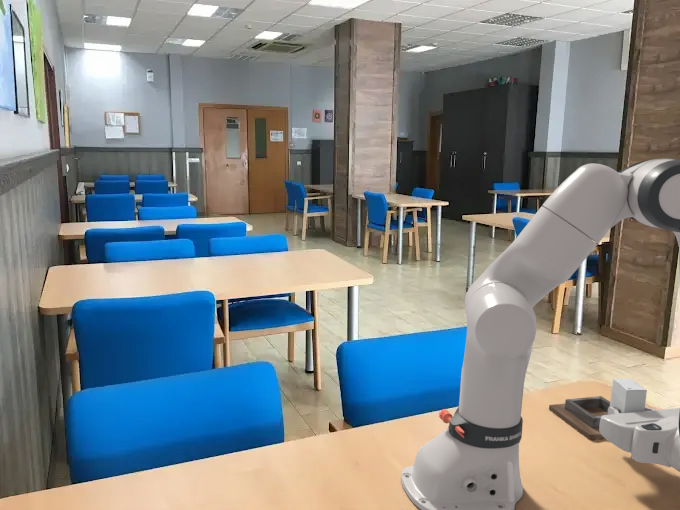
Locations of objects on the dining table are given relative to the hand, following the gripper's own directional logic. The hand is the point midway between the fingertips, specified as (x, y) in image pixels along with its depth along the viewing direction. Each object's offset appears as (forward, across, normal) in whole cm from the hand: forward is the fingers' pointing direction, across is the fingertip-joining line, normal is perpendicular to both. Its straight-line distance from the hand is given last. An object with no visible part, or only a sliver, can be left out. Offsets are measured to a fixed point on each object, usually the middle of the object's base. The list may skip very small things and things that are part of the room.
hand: (623, 408), depth 118 cm
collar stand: (+13, -5, +10) cm, 17 cm away
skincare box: (-1, 0, +6) cm, 6 cm away
